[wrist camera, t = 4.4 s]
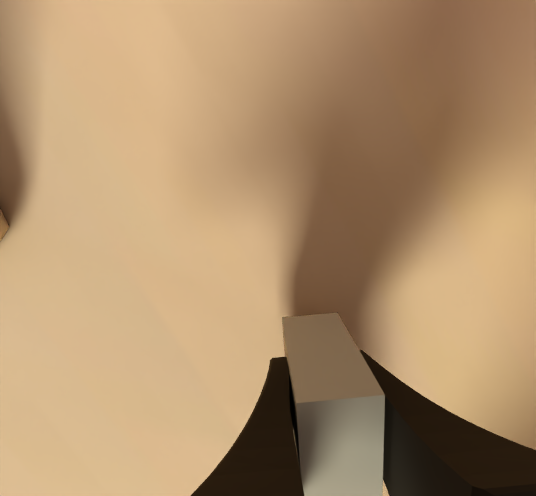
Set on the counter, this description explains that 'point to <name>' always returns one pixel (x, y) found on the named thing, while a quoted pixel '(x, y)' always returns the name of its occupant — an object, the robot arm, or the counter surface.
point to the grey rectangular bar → (333, 408)
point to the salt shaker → (3, 225)
